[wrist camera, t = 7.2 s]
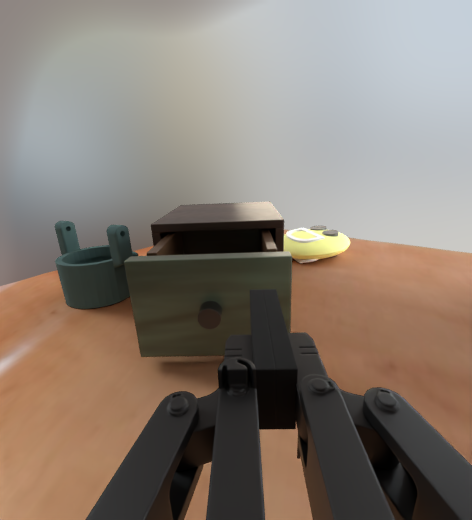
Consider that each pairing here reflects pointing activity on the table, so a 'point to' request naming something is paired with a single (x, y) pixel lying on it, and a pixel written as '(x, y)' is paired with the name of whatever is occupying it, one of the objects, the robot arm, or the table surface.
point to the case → (222, 220)
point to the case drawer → (203, 289)
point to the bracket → (93, 267)
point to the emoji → (314, 243)
